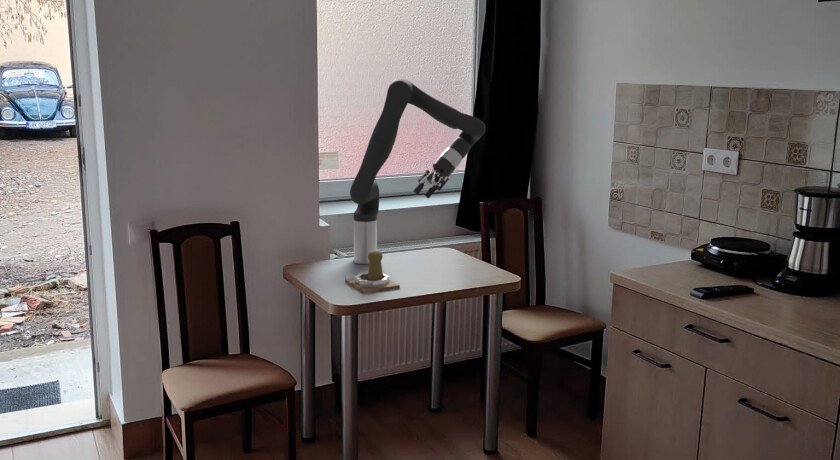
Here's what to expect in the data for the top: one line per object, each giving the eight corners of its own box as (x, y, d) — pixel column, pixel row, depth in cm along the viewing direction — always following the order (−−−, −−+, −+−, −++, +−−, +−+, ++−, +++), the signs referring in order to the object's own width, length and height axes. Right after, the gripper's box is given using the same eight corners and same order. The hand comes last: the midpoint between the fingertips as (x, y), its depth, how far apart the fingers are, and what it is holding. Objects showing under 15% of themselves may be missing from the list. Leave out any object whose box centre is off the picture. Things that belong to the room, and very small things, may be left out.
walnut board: (345, 282, 282) (345, 279, 281) (379, 277, 288) (379, 274, 288) (363, 293, 268) (363, 290, 268) (399, 288, 275) (399, 285, 275)
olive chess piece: (381, 284, 275) (380, 254, 273) (364, 283, 276) (364, 253, 274) (385, 280, 281) (385, 250, 278) (369, 278, 282) (369, 249, 280)
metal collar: (351, 280, 280) (351, 274, 280) (379, 276, 286) (379, 271, 285) (364, 288, 270) (364, 282, 270) (393, 284, 276) (393, 278, 275)
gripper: (432, 153, 294) (405, 185, 291) (451, 157, 281) (423, 191, 279) (444, 166, 297) (417, 198, 294) (463, 171, 285) (436, 204, 282)
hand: (420, 194), depth 286 cm, fingers open, 8 cm apart
